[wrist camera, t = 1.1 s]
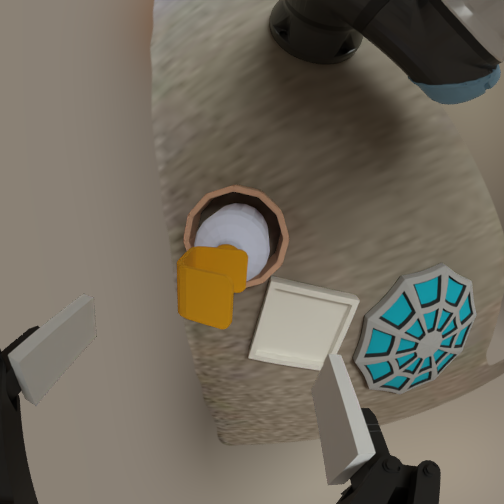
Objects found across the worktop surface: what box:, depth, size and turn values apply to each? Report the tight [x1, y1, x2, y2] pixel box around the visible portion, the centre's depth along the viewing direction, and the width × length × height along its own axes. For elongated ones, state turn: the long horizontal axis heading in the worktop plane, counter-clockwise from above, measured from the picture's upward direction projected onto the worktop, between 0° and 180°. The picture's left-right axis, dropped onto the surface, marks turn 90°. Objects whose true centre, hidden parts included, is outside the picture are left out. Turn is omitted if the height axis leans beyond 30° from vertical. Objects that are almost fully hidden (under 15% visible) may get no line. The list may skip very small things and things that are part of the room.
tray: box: [248, 275, 360, 371], centre depth 44 cm, size 15×15×2 cm
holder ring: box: [183, 185, 289, 287], centre depth 39 cm, size 14×14×5 cm
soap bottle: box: [177, 203, 270, 329], centre depth 30 cm, size 9×9×25 cm
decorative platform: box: [353, 263, 477, 394], centre depth 44 cm, size 31×29×5 cm
